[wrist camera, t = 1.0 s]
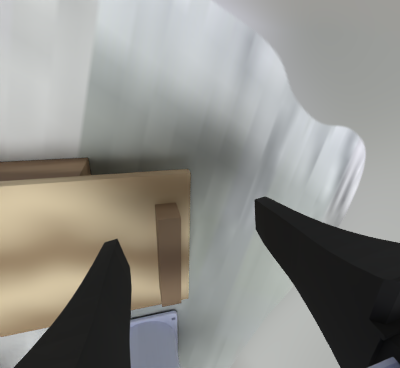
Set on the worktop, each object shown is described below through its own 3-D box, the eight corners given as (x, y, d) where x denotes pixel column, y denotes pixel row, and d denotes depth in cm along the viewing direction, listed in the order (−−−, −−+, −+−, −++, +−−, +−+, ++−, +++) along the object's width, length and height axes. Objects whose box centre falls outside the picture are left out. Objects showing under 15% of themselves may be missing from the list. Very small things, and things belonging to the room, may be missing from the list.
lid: (186, 291, 22) (193, 318, 20) (5, 327, 19) (-14, 365, 16) (188, 168, 17) (197, 185, 15) (-64, 185, 13) (-108, 211, 11)
